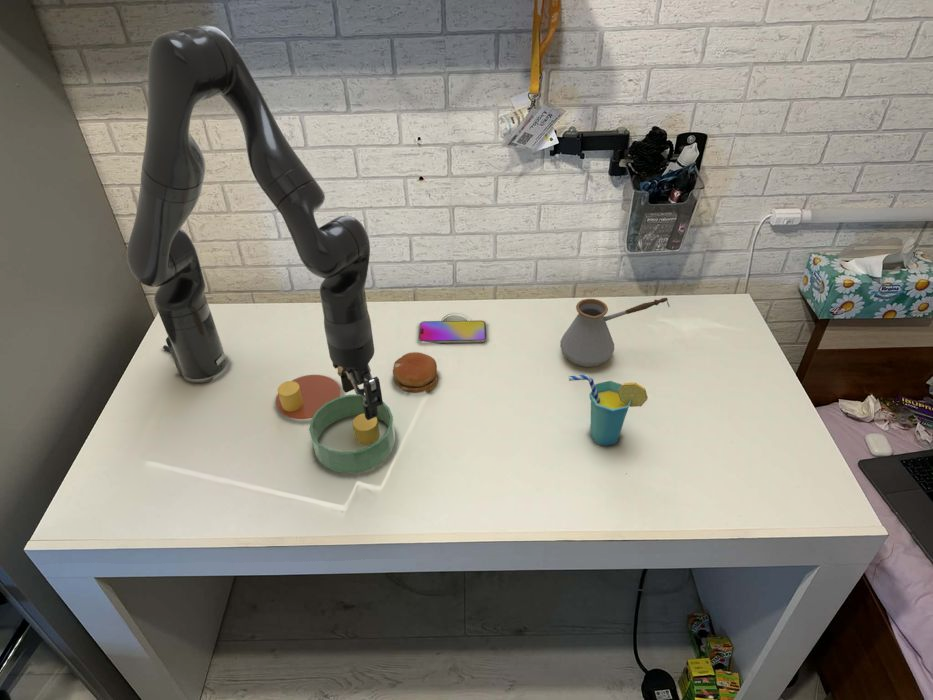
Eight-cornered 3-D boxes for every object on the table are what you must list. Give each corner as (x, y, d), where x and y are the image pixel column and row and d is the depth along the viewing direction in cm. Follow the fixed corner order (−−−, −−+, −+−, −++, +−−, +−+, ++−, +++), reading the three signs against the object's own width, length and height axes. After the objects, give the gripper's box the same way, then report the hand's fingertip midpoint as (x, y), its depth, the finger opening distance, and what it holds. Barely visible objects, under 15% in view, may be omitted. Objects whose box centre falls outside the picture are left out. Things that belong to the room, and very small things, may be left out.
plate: (264, 415, 130) (263, 412, 129) (295, 373, 139) (294, 370, 139) (324, 428, 127) (323, 424, 126) (351, 383, 136) (351, 380, 136)
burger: (444, 389, 135) (443, 372, 132) (400, 400, 132) (398, 383, 129) (430, 360, 142) (429, 343, 139) (388, 370, 140) (386, 353, 137)
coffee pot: (562, 373, 138) (567, 316, 128) (556, 339, 146) (561, 283, 137) (664, 372, 137) (677, 315, 128) (652, 338, 146) (664, 282, 136)
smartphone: (486, 340, 145) (418, 341, 145) (486, 342, 146) (418, 343, 146) (485, 320, 151) (420, 321, 151) (485, 322, 152) (420, 323, 152)
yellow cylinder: (278, 409, 130) (273, 393, 127) (288, 395, 133) (283, 379, 130) (297, 413, 129) (293, 397, 126) (306, 399, 132) (303, 382, 129)
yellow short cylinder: (351, 442, 123) (348, 428, 120) (361, 425, 126) (358, 411, 124) (374, 447, 122) (371, 432, 119) (383, 430, 125) (381, 415, 123)
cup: (562, 448, 122) (569, 389, 112) (562, 418, 127) (568, 359, 118) (639, 453, 120) (652, 394, 111) (635, 422, 126) (647, 364, 117)
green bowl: (301, 466, 119) (294, 444, 116) (335, 410, 130) (331, 388, 127) (377, 483, 116) (374, 461, 112) (406, 424, 127) (404, 401, 123)
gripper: (309, 320, 111) (324, 389, 121) (348, 365, 102) (360, 436, 112) (349, 304, 114) (360, 373, 125) (390, 347, 105) (398, 417, 116)
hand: (360, 403), depth 118 cm, fingers open, 8 cm apart
